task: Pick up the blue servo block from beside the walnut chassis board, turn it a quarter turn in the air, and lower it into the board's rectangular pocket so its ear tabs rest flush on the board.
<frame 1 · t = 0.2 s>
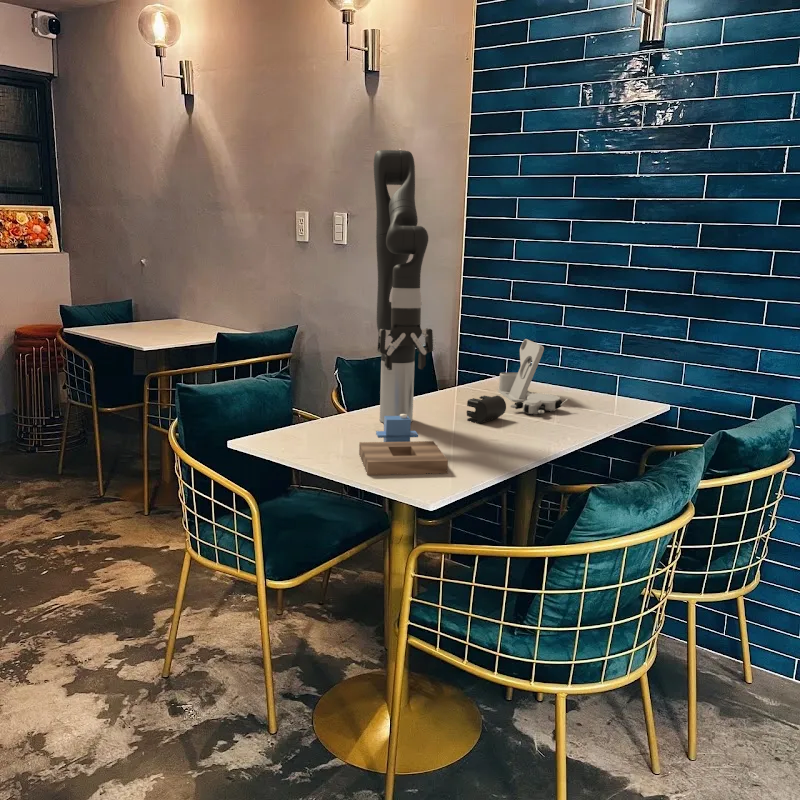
hand: (405, 369, 205), 18 cm above the table, tool pointing down, fingers open, 8 cm apart
chassis board: (401, 463, 184), on the table
phone holder: (518, 396, 262), on the table
servo: (396, 447, 198), on the table
end cap: (485, 421, 228), on the table
robot toy: (537, 412, 241), on the table
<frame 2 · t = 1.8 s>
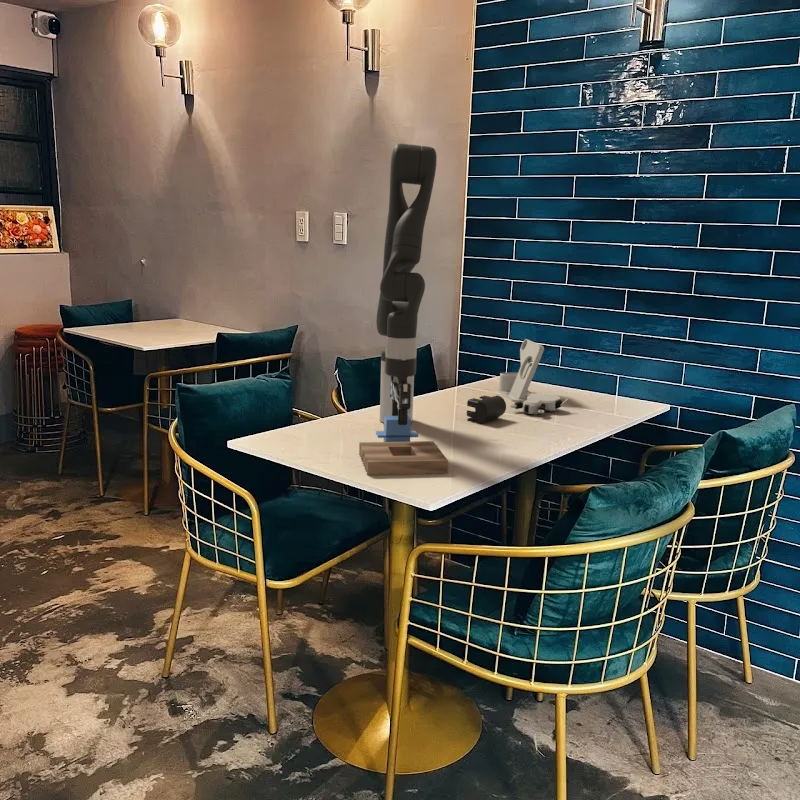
hand: (399, 420, 196), 7 cm above the table, tool pointing down, fingers open, 8 cm apart
nothing on the table moved.
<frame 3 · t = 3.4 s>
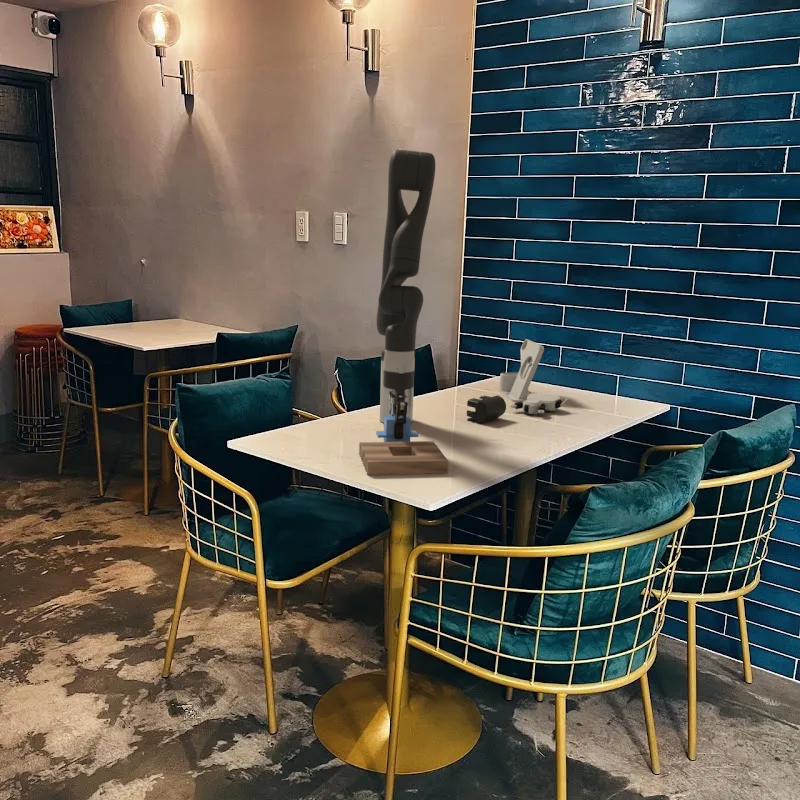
hand: (397, 436, 198), 3 cm above the table, tool pointing down, fingers closed on servo, 4 cm apart
servo: (396, 446, 198), on the table, touching gripper
everything else where it was.
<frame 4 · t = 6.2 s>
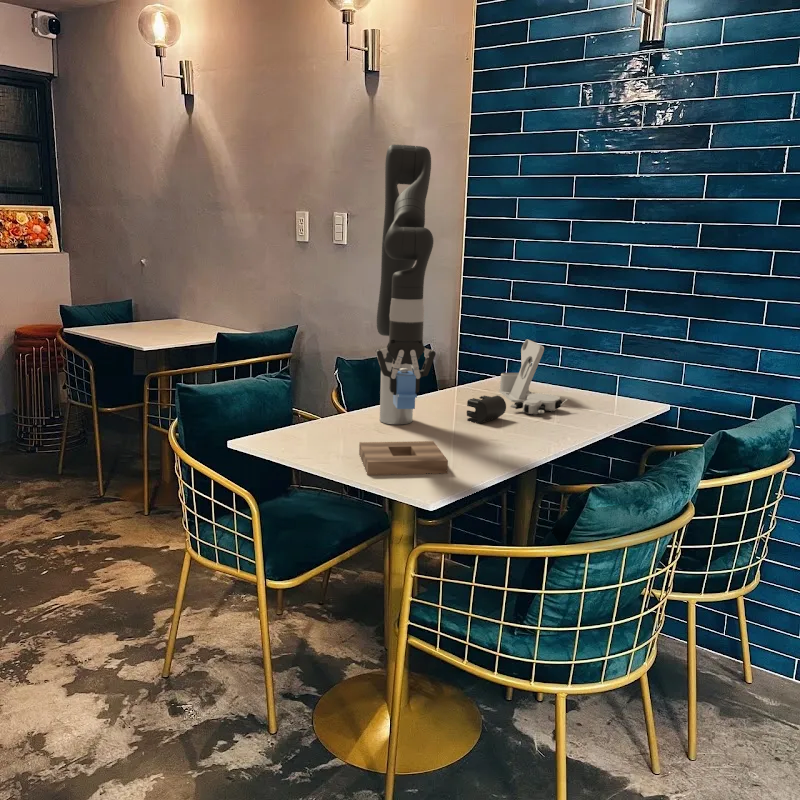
hand: (404, 393, 181), 16 cm above the table, tool pointing down, fingers closed on servo, 4 cm apart
servo: (403, 405, 182), point 14 cm above the table, touching gripper
everything else where it was.
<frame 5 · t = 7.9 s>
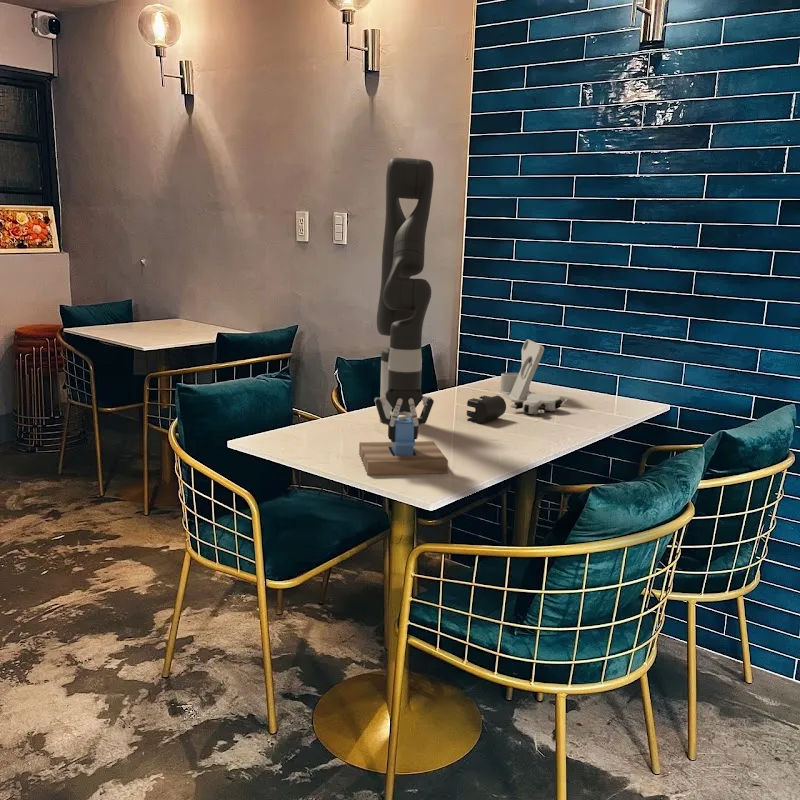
hand: (402, 440, 183), 5 cm above the table, tool pointing down, fingers closed on servo, 4 cm apart
servo: (402, 452, 184), point 3 cm above the table, touching gripper
everything else where it was.
when the fingers open (4 cm above the table, at t = 9.0 s): servo stays where it is, resting on chassis board.
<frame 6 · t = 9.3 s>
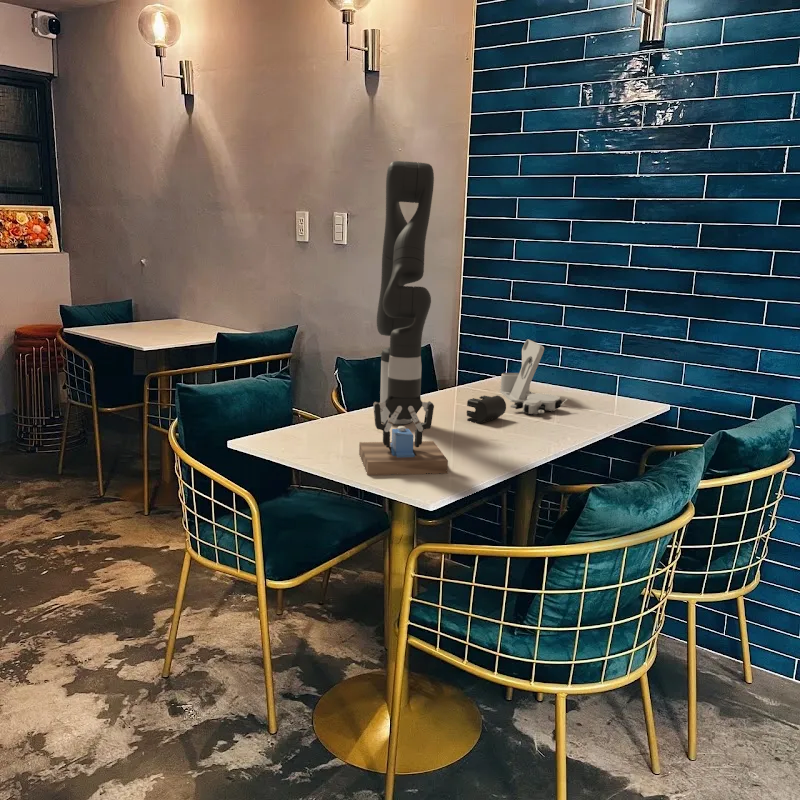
hand: (402, 446, 184), 4 cm above the table, tool pointing down, fingers open, 6 cm apart
servo: (401, 463, 184), resting on chassis board
everything else where it was.
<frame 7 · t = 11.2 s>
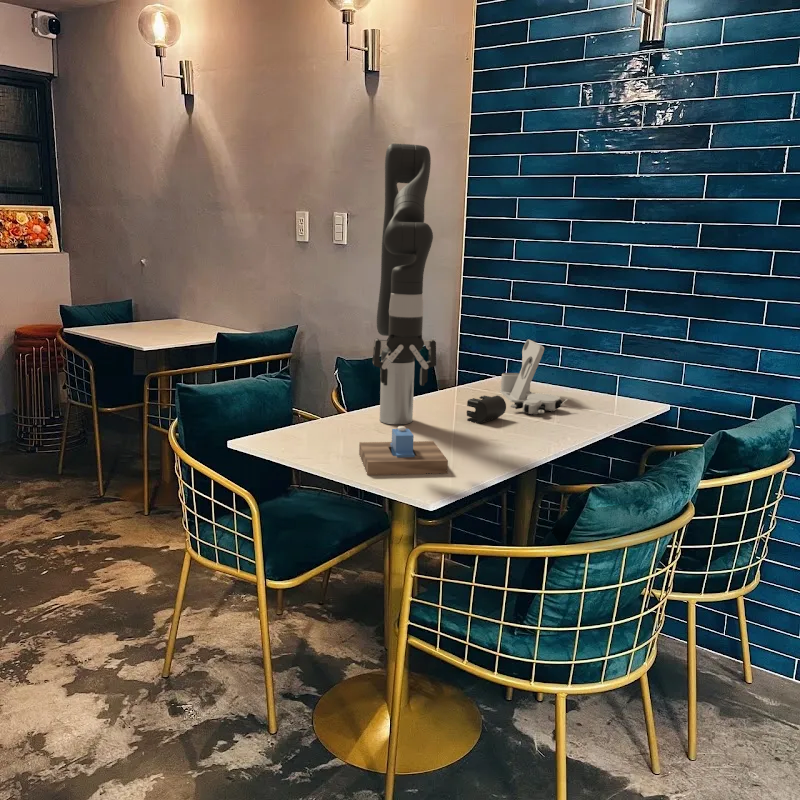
hand: (403, 384, 181), 18 cm above the table, tool pointing down, fingers open, 8 cm apart
nothing on the table moved.
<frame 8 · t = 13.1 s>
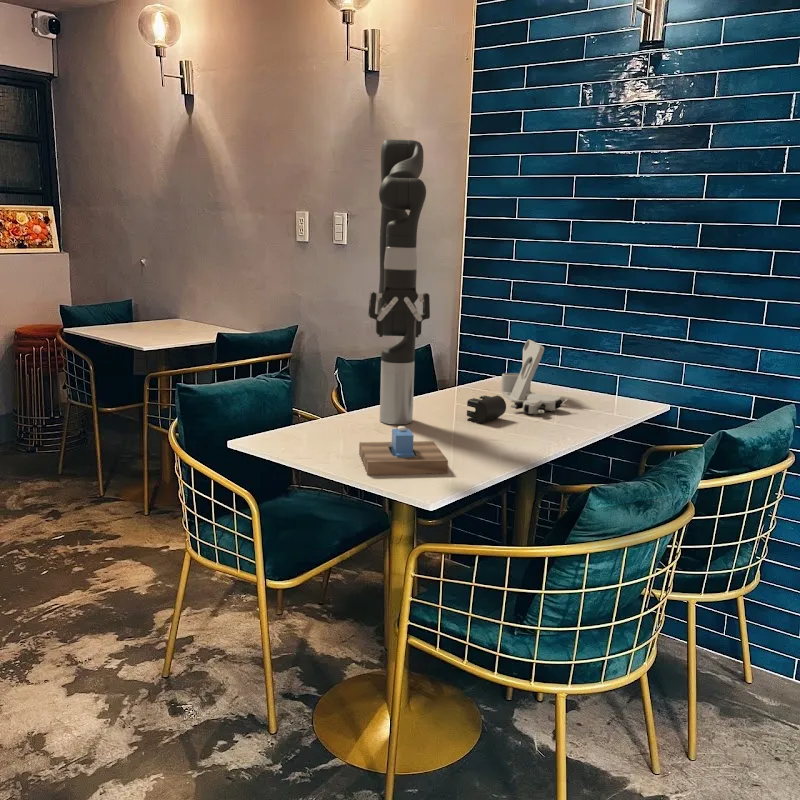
hand: (398, 336, 188), 28 cm above the table, tool pointing down, fingers open, 8 cm apart
at the end: servo 0.0 cm off-centre on the chassis board, point 0.0 cm above the chassis board's base; servo tilted 0°; the gripper is holding nothing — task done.
